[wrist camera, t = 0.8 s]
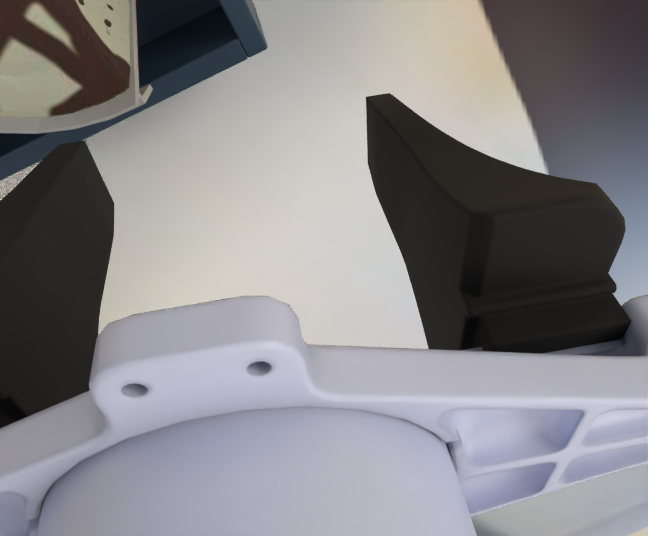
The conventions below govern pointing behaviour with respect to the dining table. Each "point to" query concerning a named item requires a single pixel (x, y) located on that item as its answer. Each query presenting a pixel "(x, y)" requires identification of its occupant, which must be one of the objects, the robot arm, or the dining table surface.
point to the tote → (161, 63)
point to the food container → (67, 64)
